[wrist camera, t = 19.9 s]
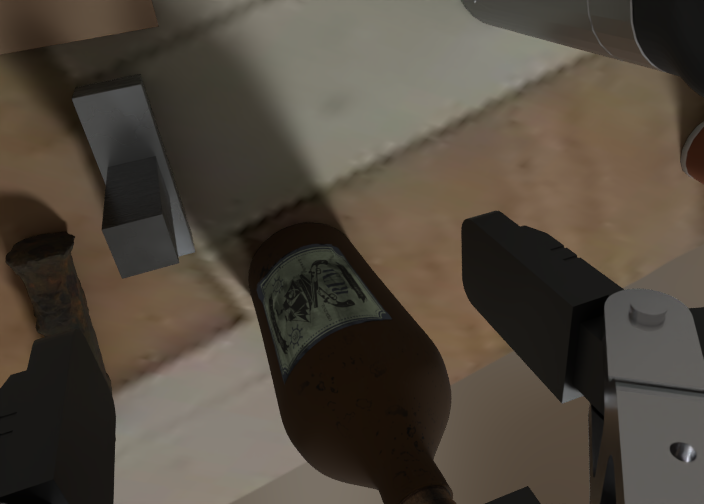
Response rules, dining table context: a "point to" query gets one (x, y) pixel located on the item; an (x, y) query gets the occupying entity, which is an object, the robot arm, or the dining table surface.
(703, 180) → the coffee cup
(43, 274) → the hand tool
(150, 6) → the brown slab
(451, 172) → the dining table surface
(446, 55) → the dining table surface
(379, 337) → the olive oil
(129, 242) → the scraper
